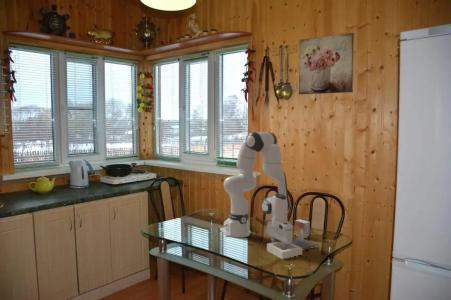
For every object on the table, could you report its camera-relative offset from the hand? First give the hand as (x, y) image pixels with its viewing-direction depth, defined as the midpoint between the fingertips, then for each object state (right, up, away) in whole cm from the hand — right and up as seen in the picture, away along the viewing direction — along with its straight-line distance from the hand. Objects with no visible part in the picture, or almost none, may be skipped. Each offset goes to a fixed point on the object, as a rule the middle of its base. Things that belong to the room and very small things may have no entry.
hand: (278, 246), depth 198 cm
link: (+3, -2, -5) cm, 6 cm away
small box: (+19, -1, +25) cm, 32 cm away
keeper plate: (+15, -2, +8) cm, 17 cm away
